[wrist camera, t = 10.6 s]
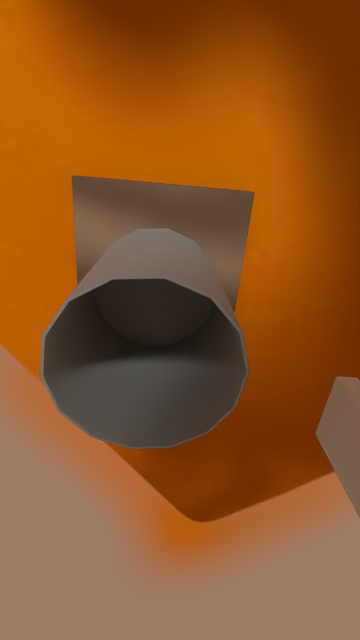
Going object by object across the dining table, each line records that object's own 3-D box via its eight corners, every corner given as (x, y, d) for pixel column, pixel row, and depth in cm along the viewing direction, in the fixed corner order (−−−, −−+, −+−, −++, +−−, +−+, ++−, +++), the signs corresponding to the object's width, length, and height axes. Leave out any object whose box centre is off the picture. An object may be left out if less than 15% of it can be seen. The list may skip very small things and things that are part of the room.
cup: (132, 359, 24) (109, 471, 15) (70, 264, 21) (-7, 335, 12) (235, 313, 23) (277, 406, 14) (185, 204, 20) (197, 233, 10)
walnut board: (77, 175, 20) (71, 175, 19) (250, 191, 20) (254, 192, 19) (86, 364, 26) (82, 373, 25) (220, 372, 26) (222, 380, 25)
